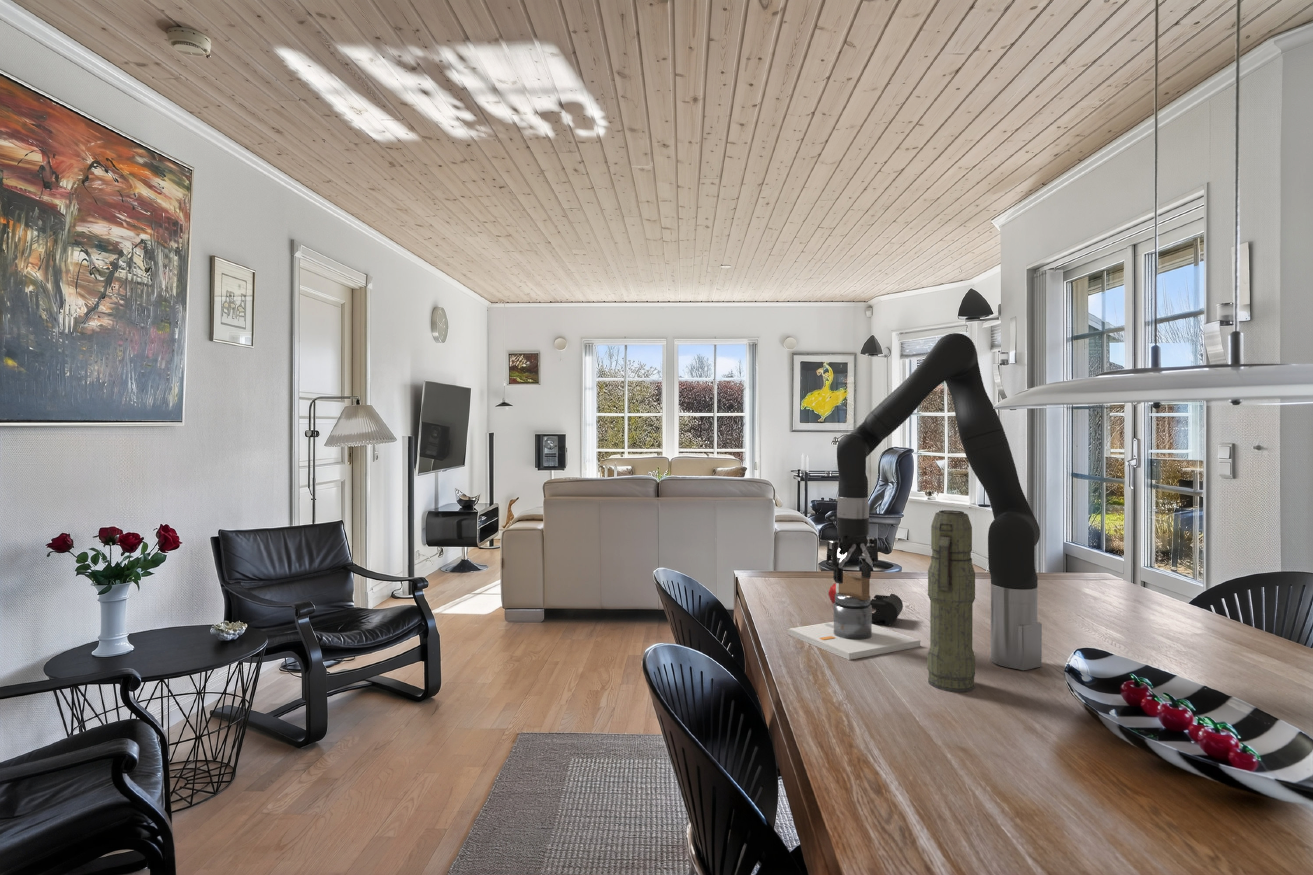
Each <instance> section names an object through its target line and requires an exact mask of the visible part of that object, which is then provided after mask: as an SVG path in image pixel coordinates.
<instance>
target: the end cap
mask: <svg viewBox="0 0 1313 875" xmlns="http://www.w3.org/2000/svg"><path fill="white" fill-rule="evenodd" d="M871 606H872V610H874V609H875V611H874V612H872V624H874V625H877V626H880V627H888V626H890V625H892V624H893V623H894V622H896V621H897V619H898V617H899V616H900V614H901V613H902V611H903V607H904V604H903V601H902V598H900V596H898V595H897V594H894V593H890V595H882V594H875V595H874V596H873V598H872V599H871Z"/></svg>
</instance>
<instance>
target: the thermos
mask: <svg viewBox="0 0 1313 875" xmlns="http://www.w3.org/2000/svg"><path fill="white" fill-rule="evenodd" d="M930 533H931V535H930V536H931V540H930V546H931V548H930V549H931V552H932V554H931V556H930V558H931V559H930V564H929V566H928V569H927V596H928V598H929V600H930V603H929V604H930V606H929V607H930V609H929V610H930V611H929V613H930V615H929V617H930V618H929V619H930V621H929V622H930V626H929V627H930V628H929V629H930V630H929V632H930V633H929V634H930V636H929V638H930V639H929V641H930V644H929V645H930V647H929V649H928V652H927V654H926V656H927V657H926V658H927V660H926V661H927V662H926V665H927V667H926V668H927V671H928V678H927V680H928V684H929V685H930V686H932V687H934V688H936V689H938V690H943V691H946V692H952V693H953V692H955V693H966V692H972V691H973V690H974V689H975V676H976V657H975V656H976V655H975V651H974V649H973V622H974V621H973V613H974V612H973V605H974V604H973V603H975V599H976V572H975V568H974V566H973V558H972V552H973V526H972V524H971V519H970V517H969V514H968V513H966V512H964V511H963V510H954V509H953V510H951V509H948V510H946V509H945V510H938V512H935V514H934V517H933V519H932V523H931V527H930Z"/></svg>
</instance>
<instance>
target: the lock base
mask: <svg viewBox="0 0 1313 875" xmlns="http://www.w3.org/2000/svg"><path fill="white" fill-rule="evenodd" d="M872 613H873V608H872V606H871V605H870V606H869V607H865V608H848V607H842V606H839V605H836V604H835V603H834V604H833V621H829V622H823V623H817V624H812V625H806V626H799V627H798V626H797V627H792V628H788V636H791V637H794V638H795V639H797V640H800V641H802V642H805V643H807V644H809V645H812V646H815V647H817V648H819V649H820V650H821V649H822V650H823V651H826V652H829V653H832V654H833V655H836V656H838V657H841V658H844V659H845V660H847V661H851V660H856V659H861V658H866V657H872V656H878V655H883V654H888V653H893V652H898V651H899V652H900V651H902V650H903V651H904V650H907V649H914V648H920V647H921V640H920V639H917V638H916V637H912V636H909V635H906V634H903V633H900V632H897V631H895V630H891V629H888V628H886V627H884V626H880V625H874V624H872Z"/></svg>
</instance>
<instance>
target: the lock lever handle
mask: <svg viewBox="0 0 1313 875" xmlns="http://www.w3.org/2000/svg"><path fill="white" fill-rule="evenodd" d="M870 579H871V577H870V578H867V577H863V576H861V575H859V574H855V573H851V572H847V571H844V570H843V583H841V584H839V583H836V582H835V583H836V594H835V604H836V605H839V606H842V607H848V608H865V607H869V606H870V605H871V600H872V599H871V594H870V593H871V592H870V582H871V581H870Z"/></svg>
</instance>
